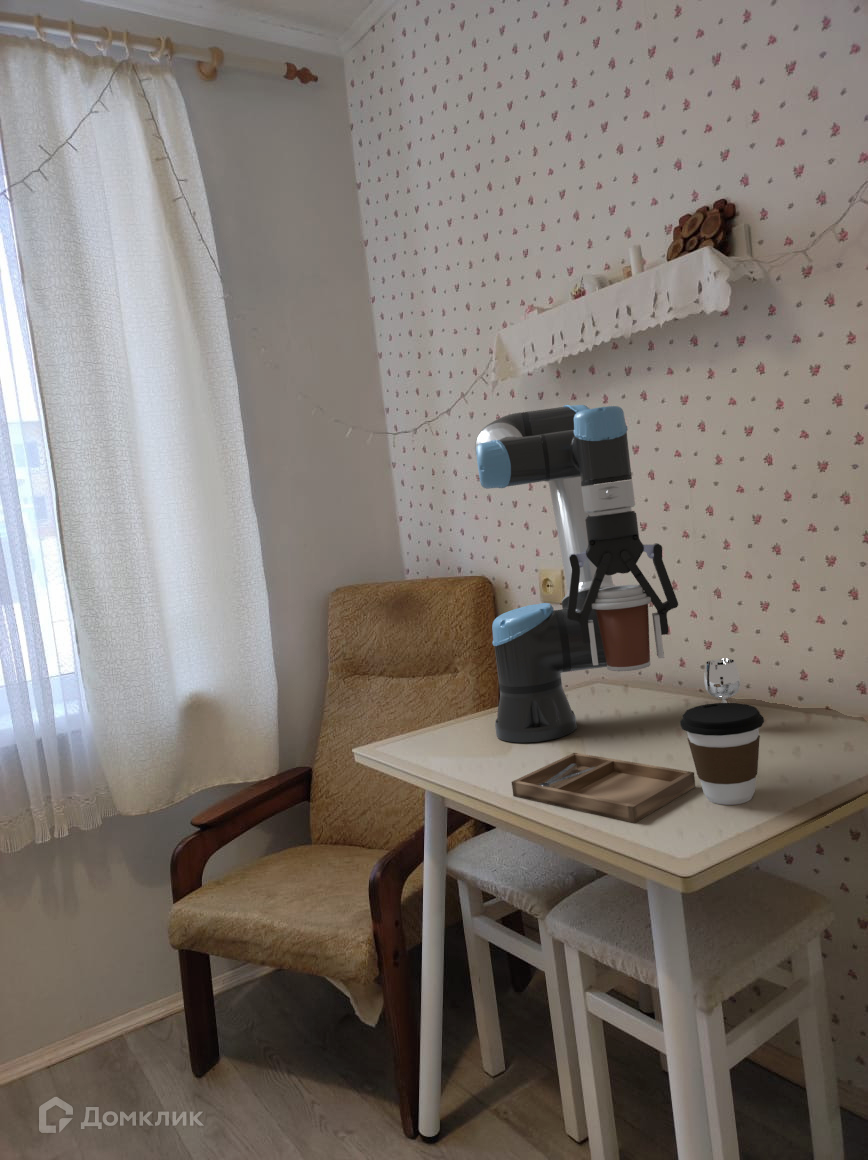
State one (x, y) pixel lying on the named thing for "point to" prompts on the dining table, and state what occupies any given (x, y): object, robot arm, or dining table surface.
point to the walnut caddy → (607, 786)
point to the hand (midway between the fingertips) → (627, 660)
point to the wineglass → (721, 678)
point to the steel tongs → (564, 776)
